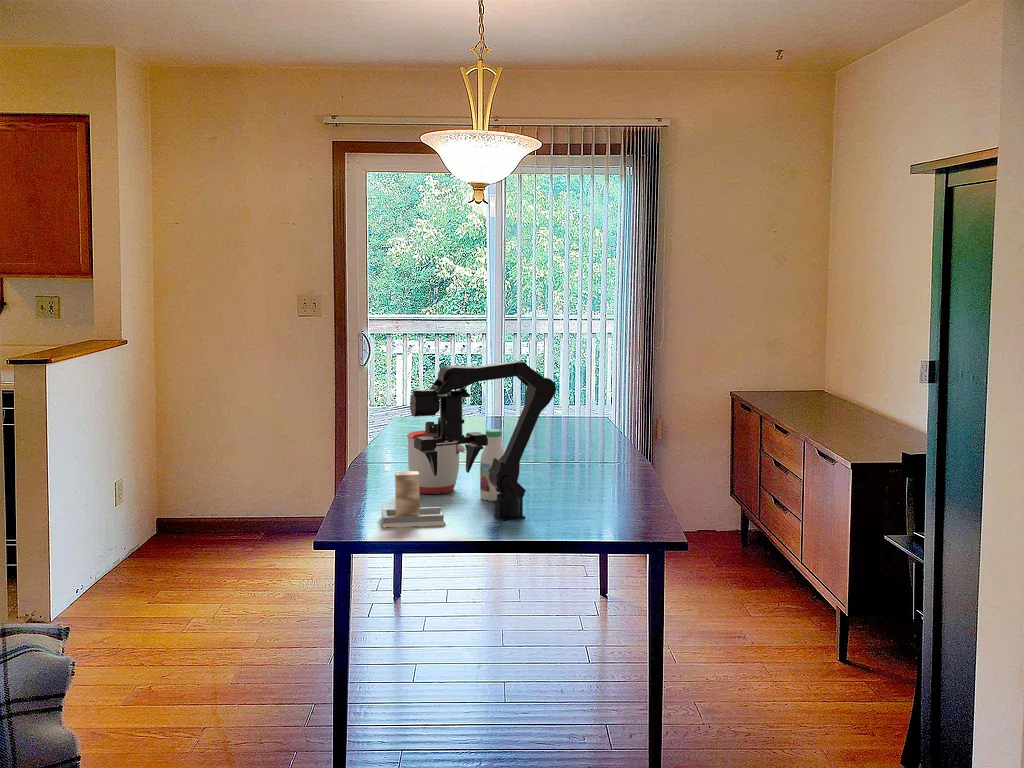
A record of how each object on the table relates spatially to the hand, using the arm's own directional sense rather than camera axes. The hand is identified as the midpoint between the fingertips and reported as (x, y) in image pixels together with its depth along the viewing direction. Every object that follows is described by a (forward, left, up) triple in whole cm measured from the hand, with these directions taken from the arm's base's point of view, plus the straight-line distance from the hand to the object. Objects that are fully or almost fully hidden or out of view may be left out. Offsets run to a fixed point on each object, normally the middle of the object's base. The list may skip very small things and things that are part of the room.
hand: (451, 474), depth 246 cm
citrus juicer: (-10, -34, -13) cm, 38 cm away
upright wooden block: (+10, -6, -12) cm, 17 cm away
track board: (+9, -6, -13) cm, 17 cm away
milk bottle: (-21, -18, -13) cm, 31 cm away
